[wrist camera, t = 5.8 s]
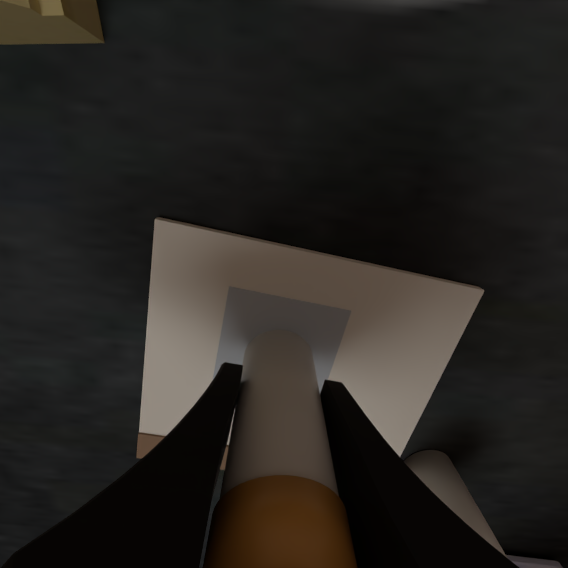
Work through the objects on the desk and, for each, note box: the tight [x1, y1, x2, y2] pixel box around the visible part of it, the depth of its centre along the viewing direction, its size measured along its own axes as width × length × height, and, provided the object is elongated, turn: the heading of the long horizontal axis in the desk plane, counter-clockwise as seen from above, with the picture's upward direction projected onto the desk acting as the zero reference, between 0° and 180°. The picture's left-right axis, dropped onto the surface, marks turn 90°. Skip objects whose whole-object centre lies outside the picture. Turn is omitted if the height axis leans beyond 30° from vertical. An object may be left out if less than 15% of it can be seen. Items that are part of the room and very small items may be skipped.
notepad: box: [137, 217, 485, 470], centre depth 14 cm, size 12×13×1 cm
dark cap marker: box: [404, 450, 507, 557], centre depth 13 cm, size 3×3×8 cm
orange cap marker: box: [203, 330, 357, 568], centre depth 9 cm, size 3×3×8 cm
